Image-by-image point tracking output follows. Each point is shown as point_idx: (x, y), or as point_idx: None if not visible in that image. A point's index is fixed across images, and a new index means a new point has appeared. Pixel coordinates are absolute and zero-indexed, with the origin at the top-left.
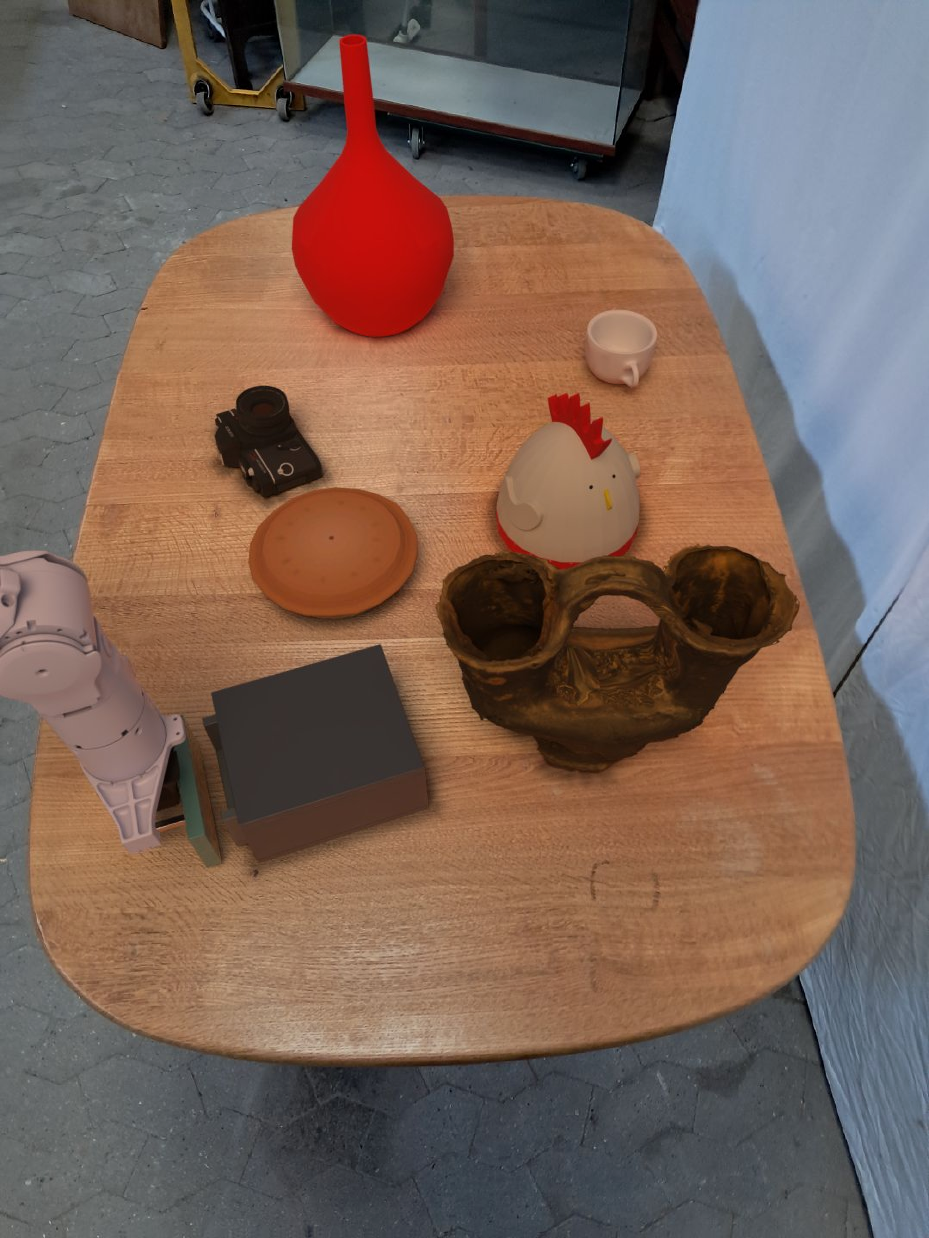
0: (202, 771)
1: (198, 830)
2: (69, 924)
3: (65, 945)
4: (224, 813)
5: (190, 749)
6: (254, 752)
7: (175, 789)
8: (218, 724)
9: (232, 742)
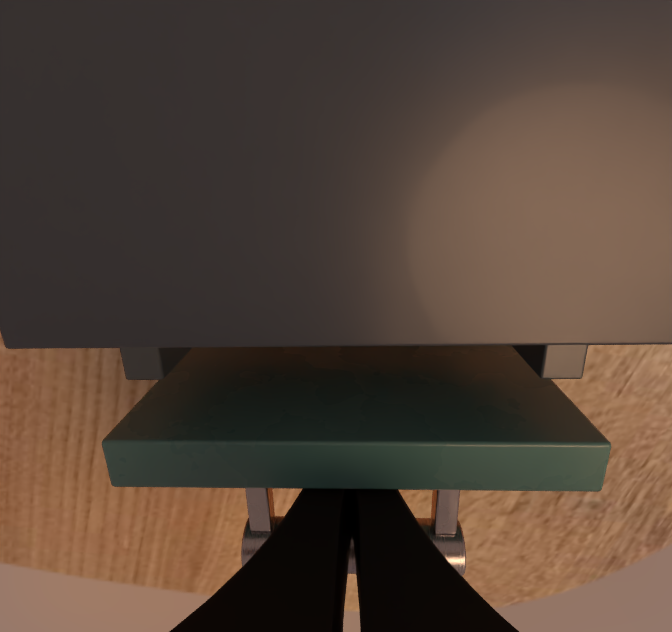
0: (273, 355)
1: (586, 460)
2: (489, 584)
3: (523, 591)
4: (553, 367)
5: (246, 427)
6: (376, 211)
7: (412, 514)
8: (179, 345)
9: (289, 302)
